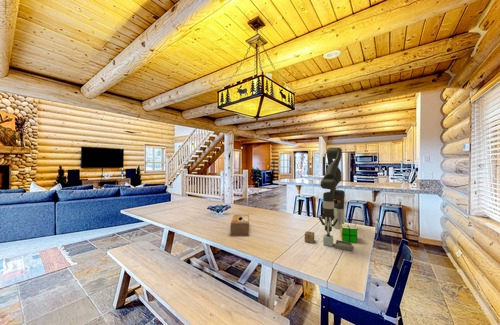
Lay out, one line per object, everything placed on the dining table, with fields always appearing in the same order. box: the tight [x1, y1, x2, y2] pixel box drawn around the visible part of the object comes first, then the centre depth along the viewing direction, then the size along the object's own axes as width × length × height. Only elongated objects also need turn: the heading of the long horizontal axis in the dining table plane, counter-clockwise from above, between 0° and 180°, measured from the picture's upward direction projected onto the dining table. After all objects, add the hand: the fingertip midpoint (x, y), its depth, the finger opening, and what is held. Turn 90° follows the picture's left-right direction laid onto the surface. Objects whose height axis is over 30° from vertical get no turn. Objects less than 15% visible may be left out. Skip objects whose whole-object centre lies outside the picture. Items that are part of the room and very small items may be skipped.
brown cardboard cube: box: [304, 230, 315, 244], centre depth 150 cm, size 6×6×6 cm
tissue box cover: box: [230, 213, 250, 236], centre depth 174 cm, size 26×14×10 cm, turn 179°
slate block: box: [322, 233, 334, 248], centre depth 144 cm, size 6×6×6 cm
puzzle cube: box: [339, 223, 358, 244], centre depth 153 cm, size 10×10×10 cm
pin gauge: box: [326, 221, 331, 237], centre depth 144 cm, size 2×2×12 cm
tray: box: [334, 239, 353, 252], centre depth 140 cm, size 10×10×2 cm
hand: (328, 231), depth 144 cm, fingers closed on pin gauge, 2 cm apart
